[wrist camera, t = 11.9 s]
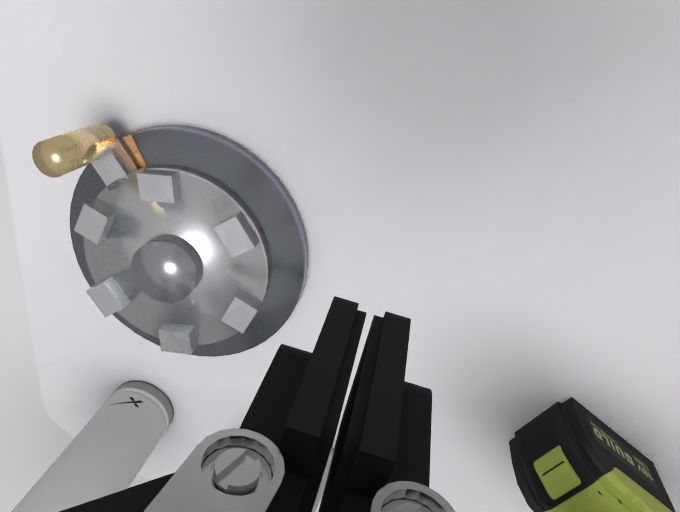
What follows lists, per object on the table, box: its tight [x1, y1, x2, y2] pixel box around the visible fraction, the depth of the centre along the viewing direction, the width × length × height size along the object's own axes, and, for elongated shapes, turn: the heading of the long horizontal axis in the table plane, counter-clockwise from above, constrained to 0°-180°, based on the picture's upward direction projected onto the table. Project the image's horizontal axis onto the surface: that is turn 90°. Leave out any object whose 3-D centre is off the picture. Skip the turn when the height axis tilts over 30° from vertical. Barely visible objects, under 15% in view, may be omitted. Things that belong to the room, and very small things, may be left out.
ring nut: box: [32, 123, 272, 355], centre depth 40 cm, size 19×15×6 cm
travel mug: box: [12, 382, 173, 512], centre depth 45 cm, size 6×7×20 cm
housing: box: [70, 126, 308, 356], centre depth 44 cm, size 20×20×2 cm
